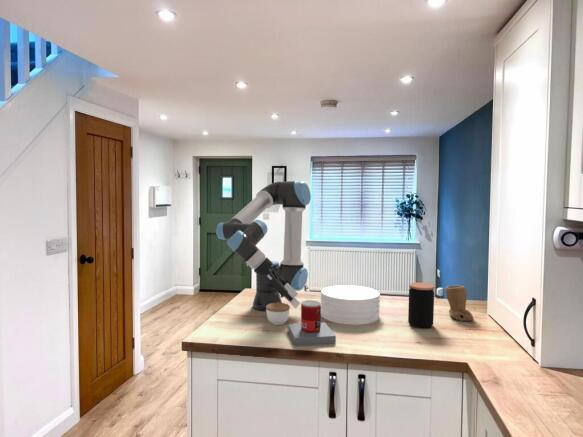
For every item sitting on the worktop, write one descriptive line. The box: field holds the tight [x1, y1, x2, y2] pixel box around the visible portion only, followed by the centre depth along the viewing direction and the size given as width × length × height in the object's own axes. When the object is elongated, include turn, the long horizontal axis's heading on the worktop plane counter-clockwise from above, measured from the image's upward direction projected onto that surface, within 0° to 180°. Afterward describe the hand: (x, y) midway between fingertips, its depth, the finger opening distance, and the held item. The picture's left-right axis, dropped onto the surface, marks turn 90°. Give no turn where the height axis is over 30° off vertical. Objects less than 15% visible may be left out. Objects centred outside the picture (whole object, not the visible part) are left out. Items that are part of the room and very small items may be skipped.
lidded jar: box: [265, 302, 291, 326], centre depth 166 cm, size 11×11×9 cm
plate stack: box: [320, 284, 381, 326], centre depth 179 cm, size 28×28×12 cm
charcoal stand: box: [287, 321, 337, 347], centre depth 150 cm, size 16×16×3 cm
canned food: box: [300, 300, 322, 333], centre depth 150 cm, size 8×8×11 cm
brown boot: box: [444, 284, 475, 322], centre depth 177 cm, size 15×12×15 cm
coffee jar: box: [407, 282, 435, 329], centre depth 165 cm, size 11×11×18 cm
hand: (296, 300), depth 148 cm, fingers open, 13 cm apart
